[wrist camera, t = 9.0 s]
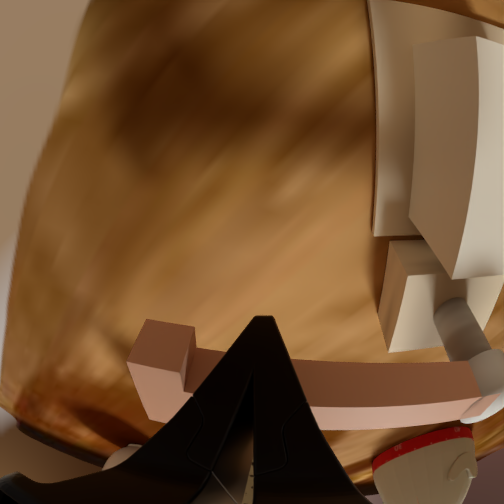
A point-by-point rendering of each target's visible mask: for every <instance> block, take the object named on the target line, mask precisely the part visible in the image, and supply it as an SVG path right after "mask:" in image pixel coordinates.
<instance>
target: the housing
mask: <svg viewBox="0 0 504 504" xmlns="http://www.w3.org/2000/svg"><path fill="white" fill-rule="evenodd" d="M367 4H368V11H369V19H370V28H371V37H372V47H373V59H374V74H375V94H376V177H375V198H374V213H373V226H372V233H373V236H401V235H421V233H420V232H419V230H418V229H417V228H416V226H415V225H414V224H413V222H412V221H411V220H410V218H409V217H408V216H409V208H410V199H411V189H412V177H413V163H414V143H415V79H414V60H413V47H412V45H413V44H419V43H425V42H431V41H438V40H445V39H452V38H461V37H470V36H478V37H481V38H484V39H487V40H490V41H493V42H496V43H499V44H502V45H504V29H502V28H499V27H496V26H494V25H491V24H488V23H485V22H482V21H479V20H476V19H473V18H469V17H466V16H463V15H459V14H455V13H452V12H448V11H444V10H440V9H435V8H431V7H426V6H421V5H416V4H411V3H405V2H399V1H392V0H367ZM503 283H504V275H496V276H486V277H476V278H465V279H453V280H451V278H450V276H449V275H448V273H447V272H446V270H445V269H444V267H443V266H442V264H441V262H440V261H439V259H438V258H437V256H436V255H435V253H434V252H433V251H432V249H431V248H430V246H429V245H428V243H427V242H426V240H395V241H390V242H389V250H388V257H387V264H386V270H385V277H384V283H383V289H382V294H381V300H380V305H379V310H378V318H379V321H380V325H381V328H382V332H383V335H384V339H385V343H386V347H387V350H388V353H391V352H400V351H408V350H416V349H424V348H431V347H438V346H444V347H445V350H446V352H447V355H448V357H449V360H450V362H454V361H468V360H469V359H471V358H472V357H474V356H476V355H478V354H480V353H482V352H484V351H487V350H491V347H490V345H489V343H488V341H487V339H486V337H485V335H484V333H483V330H484V328H485V326H486V324H487V321H488V319H489V317H490V315H491V313H492V310H493V308H494V306H495V303H496V301H497V298H498V296H499V293H500V291H501V288H502V286H503Z"/></svg>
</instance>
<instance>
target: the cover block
mask: <svg viewBox="0 0 504 504" xmlns="http://www.w3.org/2000/svg"><path fill="white" fill-rule="evenodd" d="M412 47H413V60H414V79H415V143H414V163H413V177H412V189H411V199H410V208H409V216H408V217H409V218H410V220H411V221H412V222H413V224H414V225H415V226H416V228H417V229H418V230H419V232H420V233H421V235H422V236H423V238H424V239H425V240H426V242H427V243H428V245H429V246H430V248H431V249H432V251H433V252H434V253H435V255H436V256H437V258H438V259H439V261H440V262H441V264H442V266H443V267H444V269H445V270H446V272H447V273H448V275H449V276H450V278H451V280H453V279H465V278H476V277H486V276H496V275H504V45H502V44H499V43H496V42H493V41H490V40H487V39H484V38H481V37H478V36H470V37H461V38H452V39H445V40H438V41H431V42H425V43H419V44H413V45H412Z"/></svg>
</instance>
